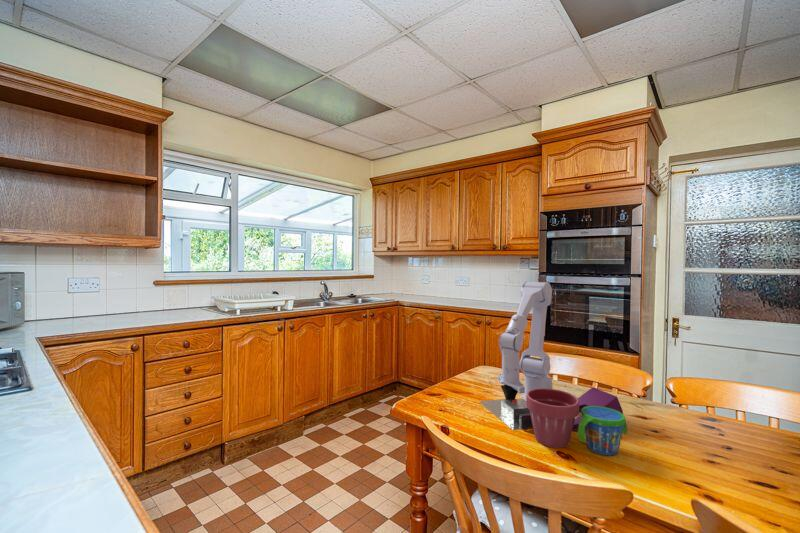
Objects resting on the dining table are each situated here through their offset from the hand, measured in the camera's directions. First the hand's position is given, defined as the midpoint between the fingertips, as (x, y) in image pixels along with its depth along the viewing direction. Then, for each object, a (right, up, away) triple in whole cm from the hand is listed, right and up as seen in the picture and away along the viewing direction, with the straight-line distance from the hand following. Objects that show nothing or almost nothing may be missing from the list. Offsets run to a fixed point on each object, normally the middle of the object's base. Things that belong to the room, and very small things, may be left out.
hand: (510, 406), depth 127 cm
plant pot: (+6, -2, -21) cm, 22 cm away
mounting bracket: (+22, -2, -10) cm, 24 cm away
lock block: (+1, -1, -5) cm, 5 cm away
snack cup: (+17, -2, -26) cm, 31 cm away
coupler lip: (0, -2, -1) cm, 2 cm away
